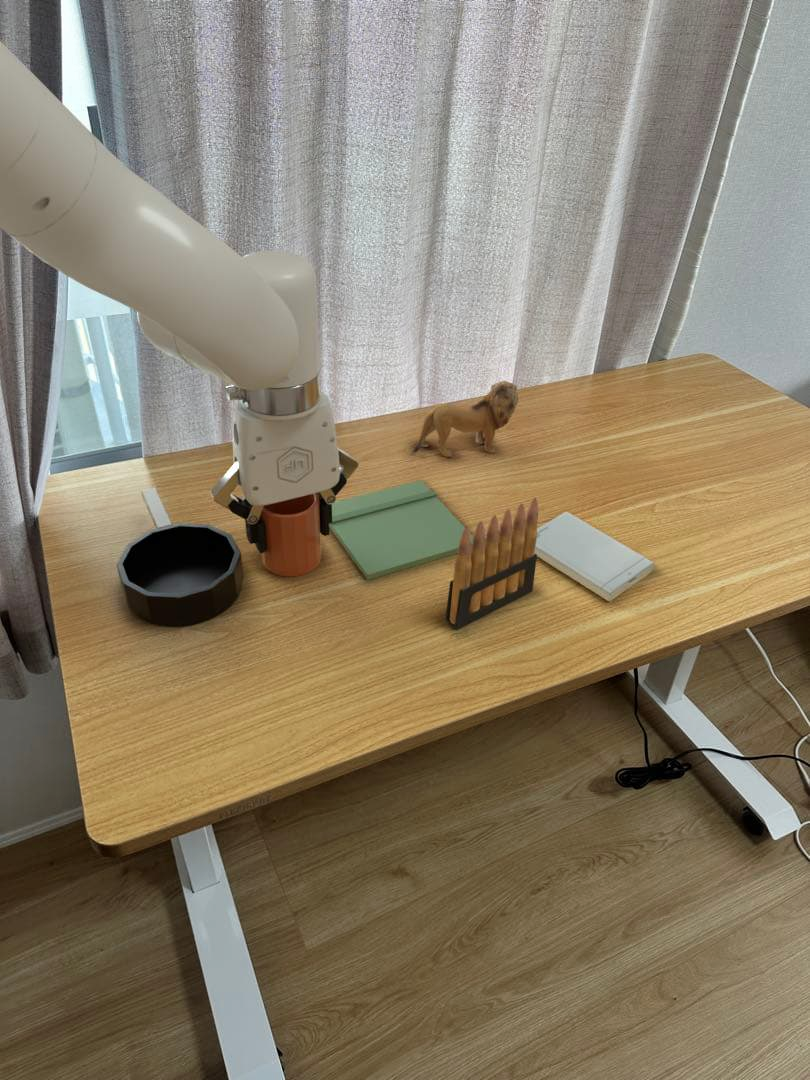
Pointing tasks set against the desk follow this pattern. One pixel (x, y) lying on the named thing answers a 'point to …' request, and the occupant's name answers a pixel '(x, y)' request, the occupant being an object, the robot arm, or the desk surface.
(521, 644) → the desk surface
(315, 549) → the cup
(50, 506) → the desk surface
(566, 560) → the hard drive
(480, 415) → the lion figurine
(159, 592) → the pan
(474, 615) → the ammunition clip
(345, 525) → the notepad
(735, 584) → the desk surface
